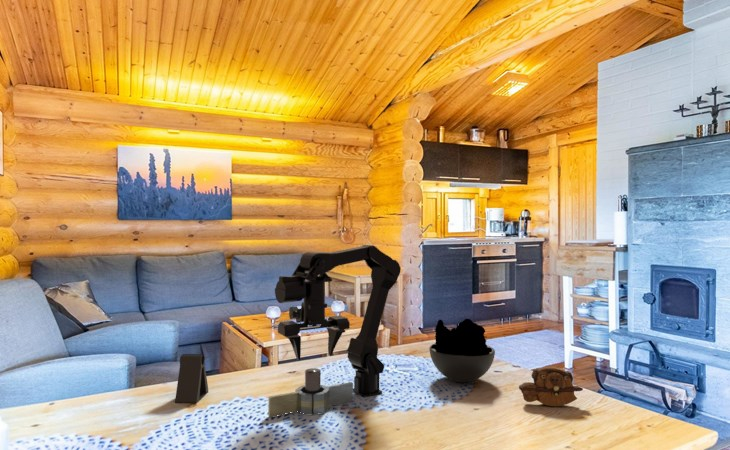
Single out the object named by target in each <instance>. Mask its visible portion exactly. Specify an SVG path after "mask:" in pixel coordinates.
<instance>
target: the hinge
mask: <svg viewBox="0 0 730 450" xmlns="http://www.w3.org/2000/svg"><path fill="white" fill-rule="evenodd" d="M353 388H354V382H352V381H351V382H349V381H348V382H344V383H339V384H338V383H337V384H334V385H333V384H332V385H328V386H327V385H324V384H320V393H314V394H310V393H305V384H304V385H300V386H298V387H297V388H296V389H295V391H292V392H288V393H287V392H286V393H281V394H275V395H269V396H268V400H267V401H268V406H267V407H268V409H267V410H268V414H267V415H268V416H269V417H271V418H274V417H273V416H276V417H278V416H277V415H281V416H283V415H282V414H285V413H290V412H296V413H299V414H301V413H304V414H303V415H306V414H312V415H313V414H316V415H319V414H318V413H321V414H325V413H327V412H328V411H329V409H330V407H331V406H337V405H341V404H347V403H351V402H353V401H354V391H353ZM297 411H298V412H297ZM300 412H301V413H300ZM269 417H268V418H269Z"/></svg>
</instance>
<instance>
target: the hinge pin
mask: <svg viewBox="0 0 730 450" xmlns="http://www.w3.org/2000/svg"><path fill="white" fill-rule="evenodd" d="M304 373H305V375H304V379H305V381H304V385H305V393H310V394H314V393H320V385H321V381H322V380H321V375H322V374H321V369H319V368H317V367H316V368H315V367H314V368H312V367H311V368H307V369H305V372H304Z"/></svg>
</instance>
